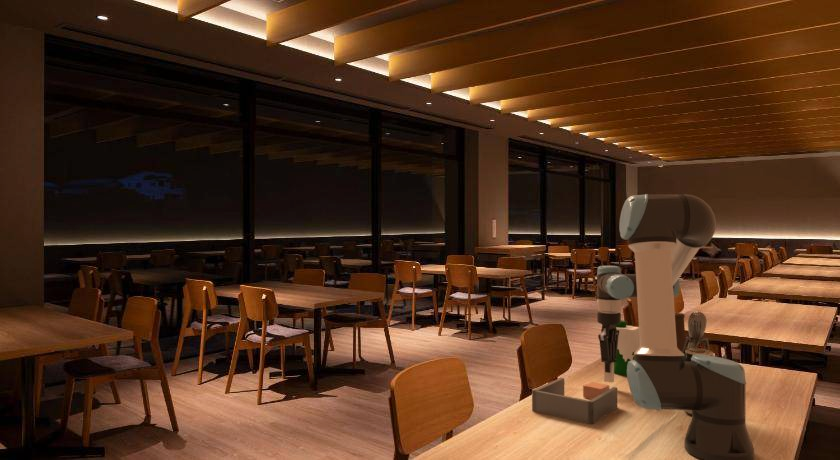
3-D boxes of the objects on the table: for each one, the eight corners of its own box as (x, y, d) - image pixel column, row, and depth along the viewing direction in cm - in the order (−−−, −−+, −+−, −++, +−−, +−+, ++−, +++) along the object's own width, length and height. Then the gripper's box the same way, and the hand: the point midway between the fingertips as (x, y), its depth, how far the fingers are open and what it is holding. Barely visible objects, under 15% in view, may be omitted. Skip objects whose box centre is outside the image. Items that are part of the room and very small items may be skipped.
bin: (591, 424, 155) (591, 402, 155) (532, 410, 167) (532, 390, 167) (617, 407, 170) (617, 387, 170) (560, 396, 181) (560, 377, 181)
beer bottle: (677, 384, 195) (677, 315, 195) (662, 378, 203) (662, 312, 203) (696, 382, 197) (696, 314, 197) (680, 377, 205) (680, 311, 205)
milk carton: (618, 371, 213) (617, 319, 213) (642, 375, 208) (642, 321, 208) (610, 376, 206) (610, 322, 206) (635, 380, 201) (635, 324, 201)
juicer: (682, 386, 181) (692, 302, 171) (710, 405, 171) (723, 318, 161) (658, 394, 178) (667, 309, 168) (685, 414, 168) (696, 325, 158)
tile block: (600, 401, 176) (600, 389, 176) (583, 397, 180) (583, 385, 180) (609, 397, 180) (609, 385, 180) (592, 394, 185) (592, 381, 185)
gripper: (605, 308, 196) (605, 375, 196) (590, 312, 186) (590, 383, 186) (627, 310, 192) (627, 379, 192) (612, 315, 182) (612, 387, 182)
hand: (609, 381), depth 189 cm, fingers closed
